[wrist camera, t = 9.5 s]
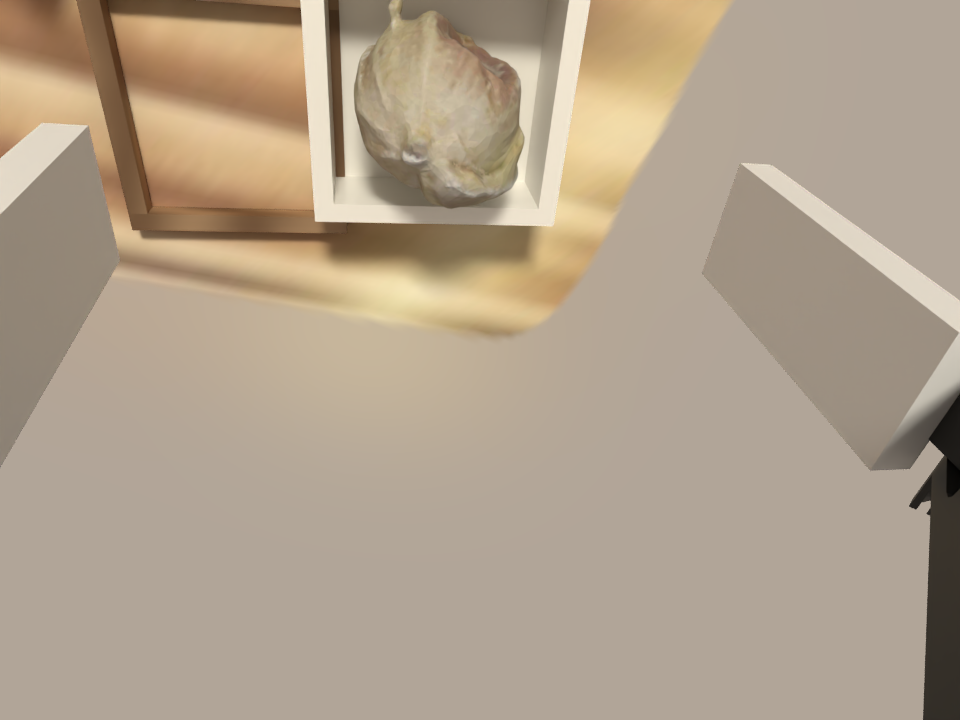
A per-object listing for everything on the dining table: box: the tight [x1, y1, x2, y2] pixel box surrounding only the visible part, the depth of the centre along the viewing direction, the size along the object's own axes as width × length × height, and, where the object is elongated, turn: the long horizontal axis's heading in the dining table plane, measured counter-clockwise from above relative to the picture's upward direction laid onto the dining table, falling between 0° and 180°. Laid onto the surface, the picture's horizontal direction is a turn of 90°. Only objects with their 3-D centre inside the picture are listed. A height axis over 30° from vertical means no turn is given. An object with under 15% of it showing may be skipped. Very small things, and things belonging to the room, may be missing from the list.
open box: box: [300, 0, 590, 226], centre depth 34 cm, size 13×13×5 cm
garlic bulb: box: [354, 0, 525, 209], centre depth 32 cm, size 9×8×10 cm
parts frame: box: [76, 0, 347, 234], centre depth 35 cm, size 12×13×1 cm
